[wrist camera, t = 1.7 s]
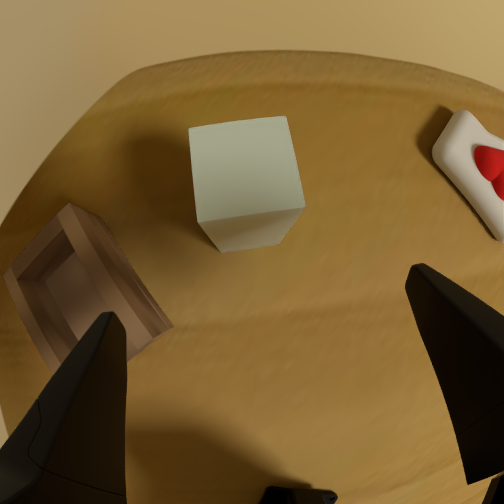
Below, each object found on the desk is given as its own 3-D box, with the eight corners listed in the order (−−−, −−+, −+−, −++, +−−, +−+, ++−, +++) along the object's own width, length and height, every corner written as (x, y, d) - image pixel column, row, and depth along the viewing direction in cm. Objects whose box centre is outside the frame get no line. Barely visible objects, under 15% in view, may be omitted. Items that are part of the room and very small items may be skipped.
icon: (544, 177, 18) (527, 245, 17) (520, 187, 22) (497, 250, 21) (476, 86, 19) (447, 137, 18) (455, 106, 23) (422, 157, 22)
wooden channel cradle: (174, 326, 20) (153, 337, 15) (100, 381, 19) (70, 400, 15) (101, 217, 21) (69, 201, 16) (38, 279, 20) (2, 276, 15)
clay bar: (278, 244, 21) (305, 207, 11) (221, 253, 21) (197, 222, 11) (269, 190, 21) (285, 115, 11) (213, 198, 21) (188, 128, 11)
